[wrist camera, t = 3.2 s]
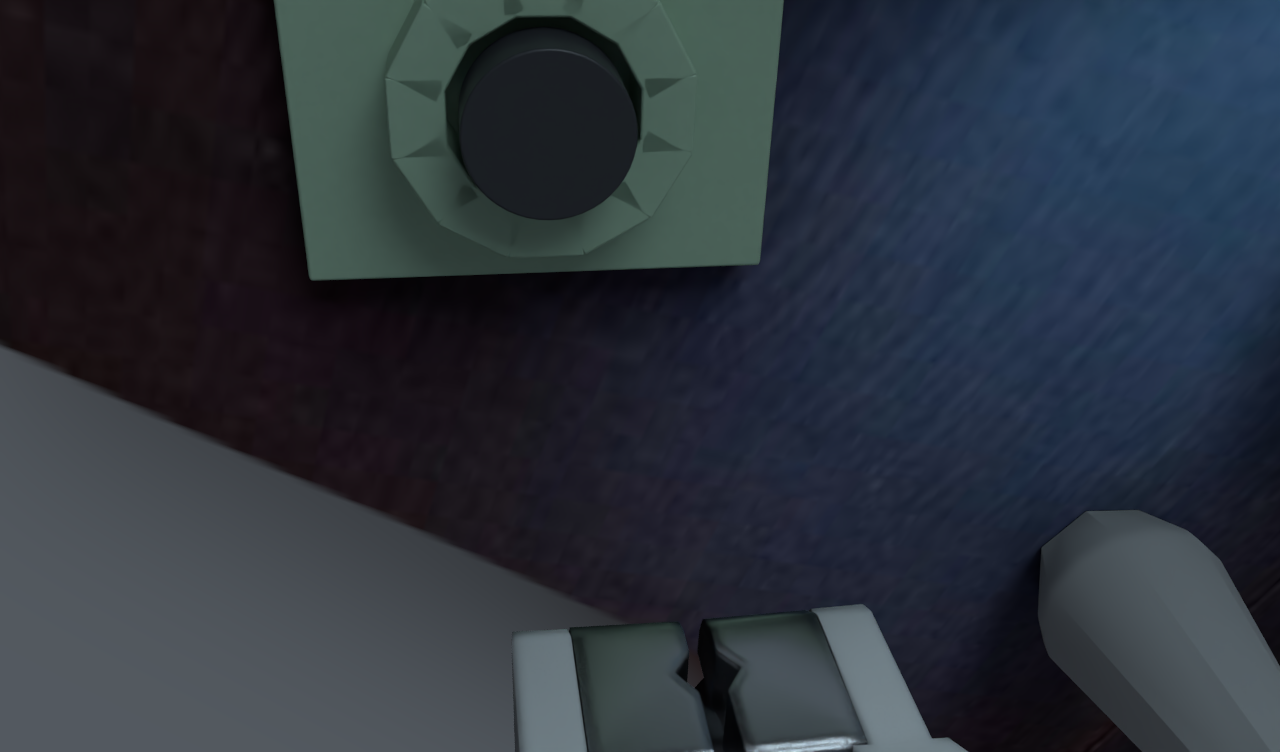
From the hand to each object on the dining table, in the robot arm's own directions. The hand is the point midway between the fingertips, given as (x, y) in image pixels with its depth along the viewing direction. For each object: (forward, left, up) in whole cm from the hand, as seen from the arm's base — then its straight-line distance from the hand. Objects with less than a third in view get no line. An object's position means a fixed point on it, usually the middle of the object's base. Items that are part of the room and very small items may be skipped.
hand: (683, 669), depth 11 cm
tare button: (0, 0, -16) cm, 16 cm away
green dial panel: (0, 0, -19) cm, 19 cm away
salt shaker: (-18, +16, -19) cm, 31 cm away
